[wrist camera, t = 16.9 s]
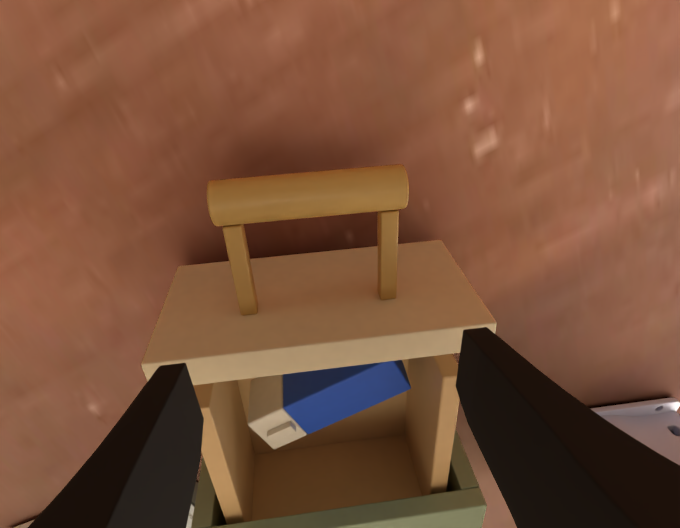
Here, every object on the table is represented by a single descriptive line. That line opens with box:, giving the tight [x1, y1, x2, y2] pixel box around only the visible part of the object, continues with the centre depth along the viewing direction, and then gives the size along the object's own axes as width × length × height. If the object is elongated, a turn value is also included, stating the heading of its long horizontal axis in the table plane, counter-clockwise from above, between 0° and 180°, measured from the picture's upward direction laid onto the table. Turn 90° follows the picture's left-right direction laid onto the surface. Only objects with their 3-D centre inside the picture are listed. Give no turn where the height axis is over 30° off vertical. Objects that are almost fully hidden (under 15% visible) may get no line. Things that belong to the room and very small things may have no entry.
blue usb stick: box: [248, 360, 411, 449], centre depth 20 cm, size 7×2×3 cm, turn 117°
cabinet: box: [191, 428, 487, 528], centre depth 25 cm, size 14×13×8 cm
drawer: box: [141, 164, 497, 525], centre depth 18 cm, size 18×12×6 cm, turn 3°
